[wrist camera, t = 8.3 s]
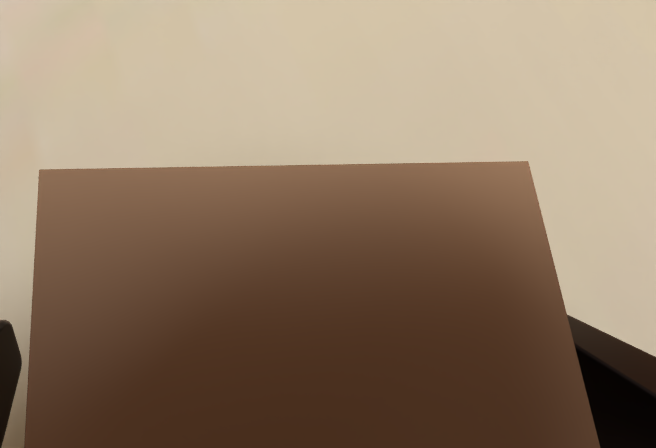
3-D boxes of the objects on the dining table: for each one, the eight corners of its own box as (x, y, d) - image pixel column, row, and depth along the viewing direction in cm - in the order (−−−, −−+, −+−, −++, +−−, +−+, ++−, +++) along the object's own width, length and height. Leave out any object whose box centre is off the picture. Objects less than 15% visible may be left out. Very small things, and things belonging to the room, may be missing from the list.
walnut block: (326, 449, 16) (663, 695, 4) (174, 475, 15) (-3, 952, 3) (310, 304, 17) (528, 161, 5) (170, 317, 16) (38, 169, 4)
